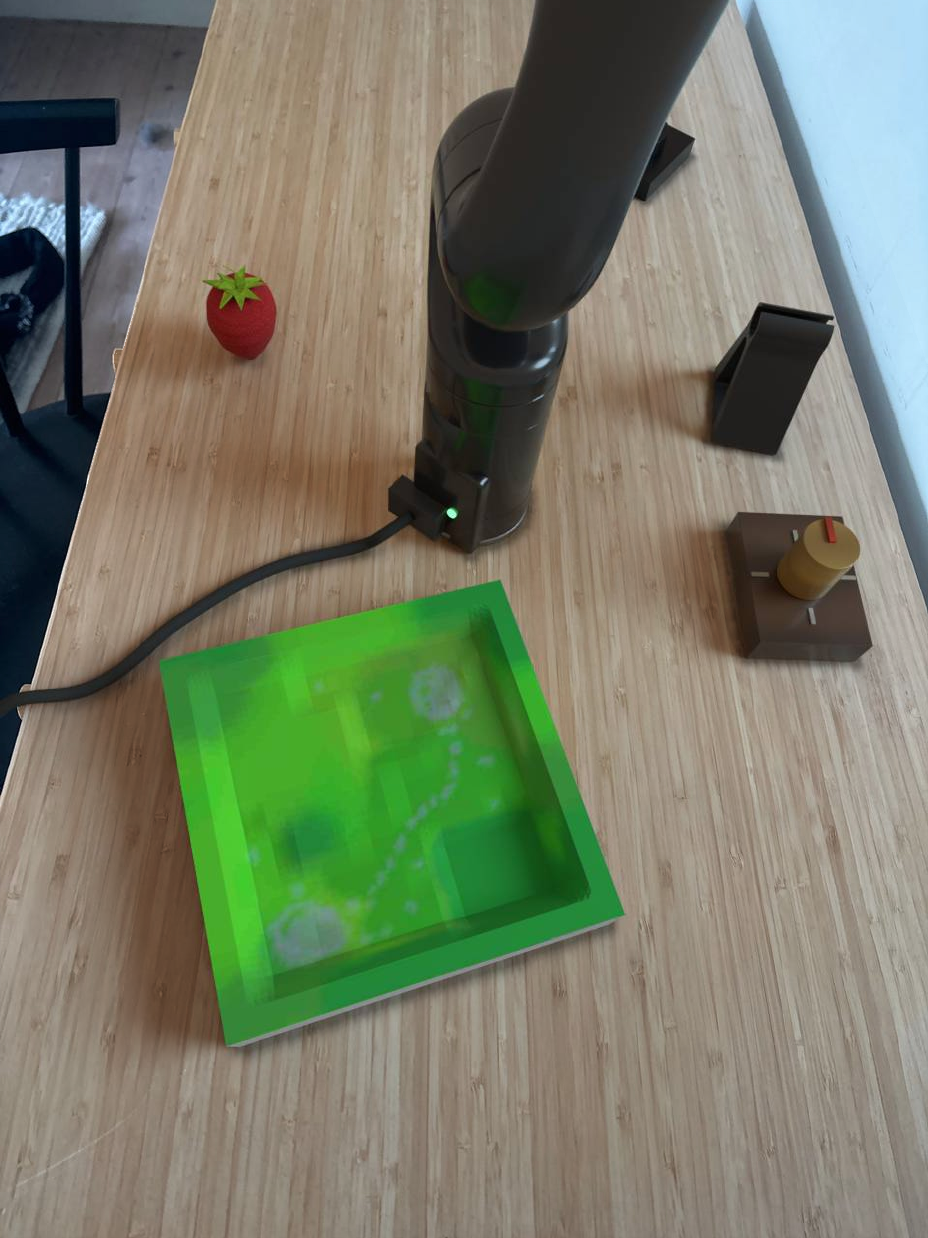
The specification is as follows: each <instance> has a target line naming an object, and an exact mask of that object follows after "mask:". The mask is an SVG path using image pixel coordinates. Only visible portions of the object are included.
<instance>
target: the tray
mask: <svg viewBox="0 0 928 1238" xmlns="http://www.w3.org/2000/svg"><path fill="white" fill-rule="evenodd" d="M158 664H159V668H160V675H161V682H162V687H163V693H164V698H165V703H166V709H167V716H168V720H169V727H170V733H171V738H172V744H173V750H174V755H175V759H176V760H175V762H176V767H177V772H178V778H179V784H180V790H181V796H182V801H183V807H184V812H185V819H186V824H187V829H188V835H189V841H190V847H191V852H192V858H193V864H194V865H193V866H194V869H195V875H196V882H197V886H198V892H199V897H200V898H199V900H200V904H201V910H202V915H203V922H204V929H205V933H206V939H207V944H208V951H209V956H210V961H211V967H212V972H213V973H212V974H213V978H214V984H215V985H214V986H215V990H216V995H217V996H216V997H217V1001H218V1008H219V1013H220V1018H221V1024H222V1025H221V1026H222V1029H223V1031H222V1032H223V1036H224V1042H225V1046H226V1047H230V1048H231V1047H232V1048H241V1047H244V1046H247V1045H249V1044H252V1043H257V1042H259V1041H262V1040H265V1039H268V1038H271V1037H274V1036H277V1035H280V1034H283V1033H286V1032H289V1031H292V1030H295V1029H298V1028H301V1027H305V1026H307V1025H310V1024H313V1023H316V1022H319V1021H322V1020H325V1019H328V1018H331V1017H334V1016H337V1015H340V1014H343V1013H346V1012H349V1011H352V1010H355V1009H359V1008H362V1007H364V1006H367V1005H370V1004H374V1003H376V1002H379V1001H383V1000H385V999H389V998H392V997H395V996H397V995H401V994H404V993H407V992H410V991H413V990H415V989H419V988H421V987H425V986H427V985H431V984H435V983H436V982H440V981H443V980H445V979H449V978H452V977H455V976H458V975H461V974H464V973H468V972H470V971H474V970H477V969H479V968H482V967H485V966H489V965H491V964H494V963H498V962H500V961H502V960H503V961H504V960H506V959H510V958H512V957H516V956H519V955H521V954H525V953H528V952H530V951H533V950H536V949H539V948H543V947H545V946H548V945H552V944H555V943H558V942H560V941H564V940H567V939H570V938H574V937H576V936H579V935H582V934H585V933H588V932H591V931H594V930H597V929H600V928H602V927H603V928H604V927H606V926H608V925H610V924H612V923H614V922H615V921H617V920H619V919H620V918H623V917H624V916H626V912H625V909H624V907H623V903H622V901H621V899H620V896H619V893H618V891H617V890H618V889H617V888H616V884H615V882H614V880H613V876H612V874H611V872H610V870H609V869H610V868H609V867H608V863H607V860H606V858H605V856H604V853H603V851H602V847H601V845H600V842H599V840H598V836H597V834H596V831H595V829H594V827H593V824H592V821H591V818H590V815H589V812H588V810H587V807H586V805H585V803H584V799H583V797H582V794H581V791H580V789H579V788H580V787H579V786H578V783H577V781H576V778H575V776H574V772H573V769H572V767H571V765H570V761H569V759H568V756H567V753H566V751H565V748H564V746H563V743H562V740H561V737H560V735H559V732H558V729H557V727H556V724H555V721H554V719H553V716H552V714H551V711H550V708H549V705H548V703H547V700H546V697H545V695H544V692H543V690H542V689H543V688H542V686H541V683H540V681H539V679H538V676H537V673H536V671H535V667H534V665H533V663H532V659H531V657H530V654H529V651H528V649H527V646H526V643H525V641H524V639H523V636H522V633H521V630H520V627H519V624H518V622H517V619H516V617H515V614H514V611H513V608H512V607H511V604H510V601H509V598H508V595H507V592H506V589H505V587H504V584H503V582H502V579H497V580H492V581H487V582H483V583H479V584H476V585H472V586H471V585H470V586H467V587H463V588H459V589H458V588H457V589H453V590H451V591H446V592H442V593H438V594H435V595H434V594H433V595H430V596H425V597H421V598H416V599H413V600H408V601H404V602H399V603H395V604H391V605H387V606H382V607H378V608H375V609H371V610H367V611H362V612H357V613H353V614H349V615H345V616H341V617H337V618H332V619H328V620H322V621H320V622H315V623H311V624H306V625H302V626H299V627H294V628H290V629H286V630H281V631H278V632H277V631H276V632H273V633H269V634H265V635H261V636H257V637H253V638H248V639H244V640H240V641H236V642H235V641H234V642H230V643H227V644H222V645H218V646H214V647H211V648H206V649H201V650H198V651H193V652H190V653H184V654H180V655H176V656H172V657H167V658H164V659H160V660H158Z"/></svg>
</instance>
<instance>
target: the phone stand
mask: <svg viewBox="0 0 928 1238" xmlns="http://www.w3.org/2000/svg"><path fill="white" fill-rule="evenodd" d="M834 319H835V316H834V315H832V314H826V313H822V312H816V311H810V310H807V309H801V308H795V307H789V306H784V305H778V304H773V303H768V302H762V301H760V302H759V303H757V305H756V306H755V309H754V311H753V312H752V316H751V317H750V319H749V322H748V323H747V325H746V326H745V327H744V329H743V330H742V331H741V332H740V334H739V336H737V338H736V339H735V341H734V342H733V344H732V345H731V346H730V348H729V349H728V350H727V352H726V353H725V354H724V356H723V357H722V358H721V360H720V361H719V363H718V364H717V365H716V366H715V368H714V370H713V382H712V384H713V388H712V403H711V404H712V405H711V406H712V407H711V421H710V422H711V425H710V444H715V445H721V446H727V447H731V448H732V447H733V448H738V449H743V450H748V451H752V452H753V451H754V452H759V453H764V454H768V455H769V454H770V455H775V456H776V455H777V454H778V452H779V449H780V447H781V445H782V443H783V441H784V438H785V436H786V434H787V431H788V429H789V427H790V425H791V422H792V420H793V419H794V418H793V417H795V414H796V412H797V409H798V407H799V404H800V403H801V400H802V398H803V395H805V394H804V393H805V391H806V389H807V387H808V384H809V382H810V380H811V378H812V376H813V373H814V371H815V369H816V367H817V364H818V362H820V361H819V360H820V358H821V357H822V356H823V354H824V353H825V351H826V350H827V349H828V347H829V345H830V343H831V340H832V337H833V334H834V331H835V325H834V324H829V323H828V322H829V321H831V322H833V321H834Z"/></svg>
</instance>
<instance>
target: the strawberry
mask: <svg viewBox="0 0 928 1238" xmlns="http://www.w3.org/2000/svg"><path fill="white" fill-rule="evenodd" d="M246 265H247V264H246V263H245V264H244V265H243V266H241V268H240V269H238V271H235V270H233V269H231V268H229V267H227V266H226V265H224V264H223V265H222V267H223V268H225V269H227V270H229V271H231V272H232V273H228V274H226V275H225V274H222V273H220V272H217V276H218V277H219V278H220V279H202V283H204V284H207V285H209V286H211V289H210V290H209V291H208V294H207V296H206V302H205V309H206V322H207V325H208V328H209V330H210V332H211V333H212V334H213V336H214V338H215V339H216V340H217V342H218V343H219V345H220V346H221V347H222V348H223V349H224V350H225V351H227V352H229V353H230V354H233V355H235V356H237V357H238V358H242V359H245V360H246V359H247V360H250V361H253V360H256V359H257V358H258V357H259V356H260V355H262V353H263V352H264V351H265V350H266V348H267V347H268V345H269V344H270V343H271V341H272V339H273V336H274V334H275V328H276V322H277V315H278V310H277V303H276V300H275V299H274V296H273V293H272V291H271V289H270V287H269V286H268V283H267V282H265V281H264V280H263V278H264V277H263V276H257V275H254V274H251V273H248V272H246Z"/></svg>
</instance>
